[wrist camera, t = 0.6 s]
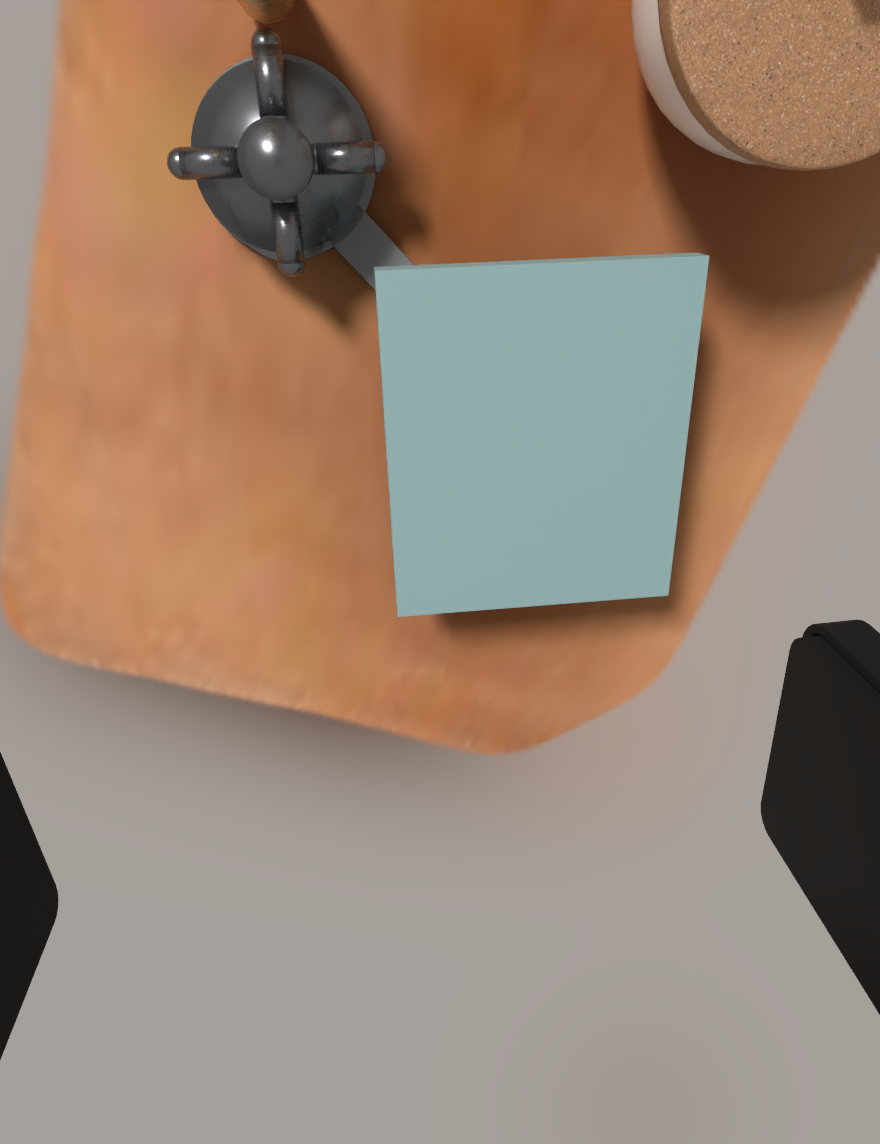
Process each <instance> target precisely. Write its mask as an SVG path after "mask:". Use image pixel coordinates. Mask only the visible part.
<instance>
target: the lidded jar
mask: <svg viewBox="0 0 880 1144" xmlns="http://www.w3.org/2000/svg"><path fill="white" fill-rule="evenodd" d="M631 21H632V31H633V42H634V47H635V51H636V55H637V59H638V64H639V68H640V70H641V73H642V76H643V78H644V81H645V83H646V86H647V88H648V91H649V92H650V94H651V96H652V97H653V99H654V101H655V102H656V104H657V106H658V107H659V109H660V110H661V112H662V113H663V114H664V115H665V116H666V117H667V119H668V120H669V121H670V122H671V123H672V124H673V126H674V127H676V128H677V129H678V130H679V131H681V132H682V133H683V134H684V135H686V136H687V137H688V138H689V139H691V140H692V141H693V142H694V143H696V144H697V145H699V146H701V147H703V148H705V149H707V150H709V151H711V152H712V153H714V154H717V155H720V156H723V157H725V158H729V159H732V160H736V161H739V162H742V163H746V164H755V165H764V166H768V167H771V168H775V169H786V170H796V171H812V170H823V169H834V168H838V167H842V166H846V165H849V164H853V163H857V162H860V161H863V160H865V159H867V158H870V157H872V156H874V155H876V154H878V153H880V0H632V2H631Z"/></svg>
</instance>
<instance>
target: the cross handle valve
mask: <svg viewBox="0 0 880 1144" xmlns="http://www.w3.org/2000/svg"><path fill="white" fill-rule="evenodd" d="M238 2H239V3H240V5H241V6H242V8H243V9H244V10H245V12H246V13H247V14H248V15H249V16H250V17H252V18H253V19H254V20H256V21H258V22H261V23H265V24H272V23H277V22H279V21H281V20H282V19H284V18H285V17H286V16H287V15H288V14H289V12H290V11H291V9H292V6H293V4H294V0H238ZM251 50H252V58H253V60H251V61H247V62H244V63H242V64H240V65H237V66H235V67H233V68H232V69H230V70H229V71H227V72H226V73H224V74H223V75H222V76H221V77H220V78H219V79H218V80H216V81H215V83H214V84H213V85H212V86H211V87H210V89H209V90H208V91H207V93H206V95H205V96H204V98H203V100H202V101H201V103H200V106H199V108H198V111H197V113H196V117H195V120H194V124H193V130H192V137H191V147H177V148H174V149H173V150H171V151H170V153H169V155H168V157H167V165H168V168H169V170H170V172H171V173H172V174H173V175H174V176H175V177H176V178H178V179H181V180H197V183H198V186H199V189H200V191H201V193H202V195H203V197H204V199H205V201H206V203H207V204H208V206H209V207H210V209H211V211H212V212H213V213H214V215H215V216H216V217H217V218H218V220H219V221H220V222H221V223H222V224H223V225H224V226H225V227H226V228H227V229H228V230H229V231H231V232H232V233H233V234H234V235H236V236H237V237H238V238H240V239H242V240H243V241H245V242H246V243H247V244H248V245H249V246H250V247H252V248H253V249H254V250H256V251H257V252H259V253H260V254H262V255H264V256H266V257H268V258H270V259H274V260H277V264H278V268H279V270H280V271H281V272H282V273H283V274H284V275H286V276H288V277H296V276H298V275H300V274H301V273H302V271H303V270H304V267H305V259H307V258H310V257H312V256H314V255H315V254H317V253H318V252H320V251H321V250H322V249H323V248H324V247H325V246H326V245H327V244H328V243H329V242H330V240H331V239H332V238H333V237H334V236H335V235H337V234H338V233H339V232H340V231H341V230H342V229H343V228H344V227H345V226H346V224H347V223H348V222H349V220H350V219H351V217H352V216H353V214H354V212H355V210H356V208H357V206H358V204H359V202H360V199H361V196H362V193H363V189H364V184H365V178H366V174H367V173H379V172H382V171H383V170H384V169H385V168H386V167H387V165H388V163H389V153H388V150H387V148H386V147H385V145H384V144H382V143H381V142H378V141H364V140H363V136H362V132H361V129H360V127H359V124H358V121H357V119H356V117H355V115H354V113H353V111H352V109H351V107H350V106H349V104H348V103H347V101H346V100H345V98H344V97H343V96H342V94H341V93H340V92H339V91H338V90H337V88H336V87H335V86H334V85H332V84H331V83H330V82H329V81H328V80H327V79H326V78H325V77H323V76H322V75H320V74H319V73H318V72H316V71H315V70H313V69H311V68H309V67H307V66H305V65H303V64H300V63H297V62H294V61H291V60H286V59H283V49H282V42H281V39H280V37H279V36H278V34H277V33H276V32H275V31H274V30H272V29H270V28H267V27H262V28H259V29H258V30H256V31H255V32H254V34H253V36H252V39H251Z"/></svg>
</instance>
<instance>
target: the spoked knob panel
mask: <svg viewBox="0 0 880 1144" xmlns="http://www.w3.org/2000/svg"><path fill="white" fill-rule="evenodd" d="M283 59H286V60H291V61H294V62H297V63H300V64H303V65H305V66H307V67H309V68H311V69H313V70H315V71H316V72H318V73H319V74H320V75H322V76H323V77H325V78H326V79H327V80H328V81H329V82H330V83H331V84H332V85H334V86H335V87H336V88H337V90H338V91H339V92H340V93H341V94H342V96H343V97H344V98H345V100H346V101H347V103H348V104H349V106H350V107H351V109H352V111H353V113H354V115H355V117H356V119H357V121H358V124H359V127H360V129H361V132H362V136H363V140H364V141H373V138H372V133H371V130H370V127H369V124H368V122H367V119H366V117H365V115H364V113H363V111H362V109H361V107H360V105H359V104H358V102H357V101H356V99H355V98H354V96H353V94H352V93H351V92H350V91H349V90H348V89H347V87H346V86H345V85H344V84H343V83H342V82H341V81H340V80H339V79H338V78H337V77H336V76H335V75H333V74H332V73H331V72H329V71H328V70H326V69H325V68H324V67H322V66H320V65H318V64H316V63H314V62H312V61H310V60H308V59H305V58H302V57H299V56H295V55H290V54H283ZM251 60H253V58H252V57H249V58H247V59H244V60H242V61H240V62H238V63H236V64H235V65H233V66H231V67H230V68H228V69H227V70H226V71H225V72H224V73H226V72H227V71H229V70H230V69H232V68H233V67H235V66H237V65H240V64H242V63H244V62H247V61H251ZM224 73H222V74H221V75H220V76H219V77H218V78H217V79H216V80H218V79H219V78H220V77H221V76H222V75H223V74H224ZM216 80H215V81H216ZM214 83H215V82H214ZM214 83H213V84H214ZM213 84H212V85H213ZM212 85H211V86H212ZM209 89H210V88H209ZM209 89H208V90H209ZM205 95H206V94H205ZM375 174H376V173H367V174H366V178H365V184H364V189H363V193H362V196H361V199H360V202H359V204H358V206H357V208H356V210H355V212H354V214H353V216H352V217H351V219H350V220H349V222H348V223H347V224H346V226H345V227H344V228H343V229H342V230H341V231H340V232H339V233H338V234H337V235H335V236H334V237H333V238H332V239H331V240H330V242H329V243H328V244H327V245H326V246H325V247H324V248H323V249H322V250H321V251H320V252H318V253H317V254H320V253H322V252H324V251H327V250H329V249H330V248H332V247H334V248H335V249H336V250H337V251H338V252H339V253H340V254H341V255H342V256H343V257H344V258H345V259H346V260H347V261H348V262H349V263H350V264H351V265H352V267H353V268H354V269H355V270H356V271H357V272H358V273H359V274H360V275H361V276H362V277H363V278H364V279H365V280H366V281H367V282H368V283H369V284H370V285H371V286H372V287H373V288H374V290H375V291H376V305H377V320H378V335H379V350H380V365H381V380H382V395H383V410H384V425H385V440H386V455H387V470H388V485H389V500H390V515H391V530H392V545H393V561H394V576H395V591H396V605H397V615H398V617H402V616H415V615H428V614H441V613H453V612H466V611H479V610H492V609H504V608H517V607H530V606H543V605H555V604H568V603H581V602H594V601H606V600H619V599H632V598H645V597H657V596H668V594H669V586H670V578H671V570H672V561H673V553H674V545H675V536H676V528H677V520H678V512H679V503H680V495H681V487H682V479H683V470H684V462H685V454H686V446H687V437H688V429H689V421H690V412H691V404H692V396H693V388H694V379H695V371H696V363H697V355H698V346H699V338H700V330H701V321H702V313H703V305H704V297H705V288H706V280H707V272H708V264H709V255H705V254H700V253H675V254H653V255H630V256H608V257H586V258H563V259H541V260H519V261H496V262H474V263H452V264H430V265H414V264H413V263H412V262H411V261H410V260H409V259H408V258H407V257H406V256H405V255H404V254H403V252H402V251H401V250H400V249H399V248H398V247H397V246H396V245H395V244H394V243H393V242H392V240H391V239H390V238H389V237H388V236H387V235H386V234H385V233H384V232H383V231H382V229H381V228H380V227H379V226H378V225H377V224H376V223H375V222H374V221H373V220H372V219H371V217H370V216H369V215H368V214H367V213H366V212H365V211H366V209H367V207H368V204H369V202H370V199H371V196H372V192H373V188H374V183H375ZM207 205H208V204H207ZM209 208H210V207H209ZM212 213H213V212H212ZM213 214H214V213H213ZM214 216H215V215H214ZM215 217H216V216H215ZM216 218H217V217H216ZM217 219H218V218H217ZM218 221H219V220H218ZM219 222H220V221H219ZM220 223H221V222H220ZM221 224H222V223H221ZM222 225H223V224H222ZM223 226H224V225H223ZM224 227H225V226H224ZM225 228H226V227H225ZM226 229H227V228H226ZM227 230H228V229H227ZM228 231H229V230H228ZM229 232H230V233H231V234H232V235H233V236H234V237H236V238H237V239H238V240H239V241H241V242H242V243H244V244H246V245H247V246H249V245H248V244H247V243H246V242H245V241H243V240H242V239H240V238H238V237H237V236H236V235H234V234H233V233H232V232H231V231H229ZM249 247H250V246H249ZM251 248H252V247H251ZM317 254H315V255H317Z"/></svg>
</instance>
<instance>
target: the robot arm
mask: <svg viewBox="0 0 880 1144" xmlns="http://www.w3.org/2000/svg"><path fill="white" fill-rule="evenodd" d="M761 815H762V820H763V824H764V827H765V829H766V831H767V833H768V835H769V837H770V839H771V840H772V842H773V844H774V845H775V847H776V848H777V850H778V852H779V853H780V855H781V856H782V858H783V860H784V861H785V863H786V865H787V866H788V868H789V869H790V871H791V873H792V874H793V876H794V877H795V879H796V881H797V882H798V884H799V885H800V887H801V888H802V890H803V892H804V894H805V895H806V897H807V898H808V900H809V901H810V903H811V905H812V906H813V908H814V910H815V911H816V913H817V914H818V916H819V918H820V919H821V921H822V923H823V924H824V925H825V927H826V929H827V931H828V932H829V934H830V935H831V937H832V939H833V940H834V942H835V943H836V945H837V947H838V948H839V950H840V951H841V953H842V955H843V956H844V958H845V960H846V961H847V963H848V964H849V966H850V967H851V969H852V971H853V972H854V973H855V975H856V977H857V979H858V980H859V982H860V984H861V985H862V987H863V988H864V990H865V992H866V993H867V995H868V997H869V998H870V1000H871V1001H872V1003H873V1004H874V1006H875V1008H876V1009H877V1011H878V1013H879V1014H880V633H878V632H877V631H876V630H875V629H874V628H873V627H872V626H871V625H869V624H868V623H866V622H864V621H862V620H850V621H840V622H831V623H820V624H813V625H811V626H809V627H808V628H807V629H806V630H805V632H804V634H803V637H802V638H797V639H795V640H794V641H793V643H792V645H791V648H790V652H789V657H788V662H787V667H786V673H785V678H784V684H783V689H782V694H781V699H780V705H779V710H778V715H777V721H776V726H775V731H774V737H773V742H772V747H771V753H770V758H769V763H768V769H767V774H766V780H765V785H764V790H763V796H762V801H761ZM57 910H58V892H57V888H56V884H55V882H54V880H53V877H52V875H51V873H50V870H49V868H48V865H47V863H46V860H45V858H44V856H43V853H42V851H41V849H40V846H39V844H38V841H37V839H36V836H35V834H34V832H33V829H32V827H31V825H30V822H29V820H28V817H27V815H26V813H25V810H24V808H23V806H22V803H21V801H20V798H19V796H18V793H17V791H16V789H15V786H14V784H13V781H12V779H11V777H10V774H9V772H8V769H7V767H6V765H5V762H4V760H3V757H2V755H1V753H0V1059H1V1057H2V1054H3V1051H4V1049H5V1047H6V1044H7V1041H8V1039H9V1036H10V1034H11V1031H12V1029H13V1026H14V1024H15V1021H16V1019H17V1016H18V1014H19V1011H20V1009H21V1006H22V1003H23V1001H24V998H25V996H26V993H27V991H28V988H29V986H30V983H31V981H32V978H33V976H34V973H35V970H36V968H37V965H38V963H39V960H40V958H41V955H42V953H43V950H44V948H45V945H46V943H47V940H48V937H49V935H50V932H51V930H52V927H53V925H54V922H55V919H56V916H57Z"/></svg>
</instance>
